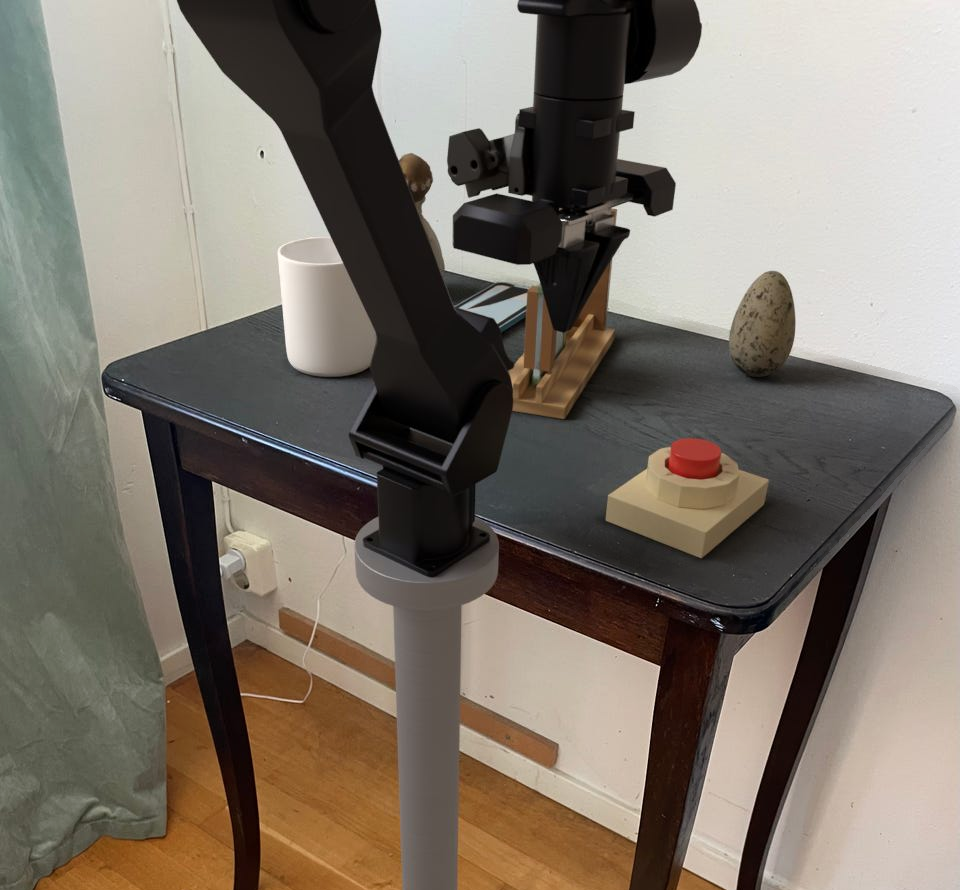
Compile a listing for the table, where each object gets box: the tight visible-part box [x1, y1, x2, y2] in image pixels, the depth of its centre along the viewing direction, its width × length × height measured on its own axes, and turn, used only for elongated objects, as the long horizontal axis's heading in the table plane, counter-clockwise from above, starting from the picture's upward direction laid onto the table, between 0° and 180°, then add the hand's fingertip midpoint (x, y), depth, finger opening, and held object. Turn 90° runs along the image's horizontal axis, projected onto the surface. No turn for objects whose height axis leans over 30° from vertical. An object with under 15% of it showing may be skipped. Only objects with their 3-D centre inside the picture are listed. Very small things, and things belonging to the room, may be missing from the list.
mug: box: [277, 236, 377, 378], centre depth 97 cm, size 9×12×11 cm
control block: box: [605, 446, 770, 559], centre depth 76 cm, size 10×8×4 cm
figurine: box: [398, 152, 446, 278], centre depth 111 cm, size 8×7×15 cm
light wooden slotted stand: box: [508, 208, 618, 420], centre depth 95 cm, size 20×7×13 cm, turn 162°
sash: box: [523, 283, 566, 386], centre depth 93 cm, size 9×2×9 cm, turn 162°
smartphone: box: [454, 281, 531, 333], centre depth 111 cm, size 7×1×15 cm
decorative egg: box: [728, 270, 797, 378], centre depth 96 cm, size 6×6×10 cm
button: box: [668, 437, 722, 480], centre depth 74 cm, size 4×4×2 cm
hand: (561, 330), depth 74 cm, fingers closed
